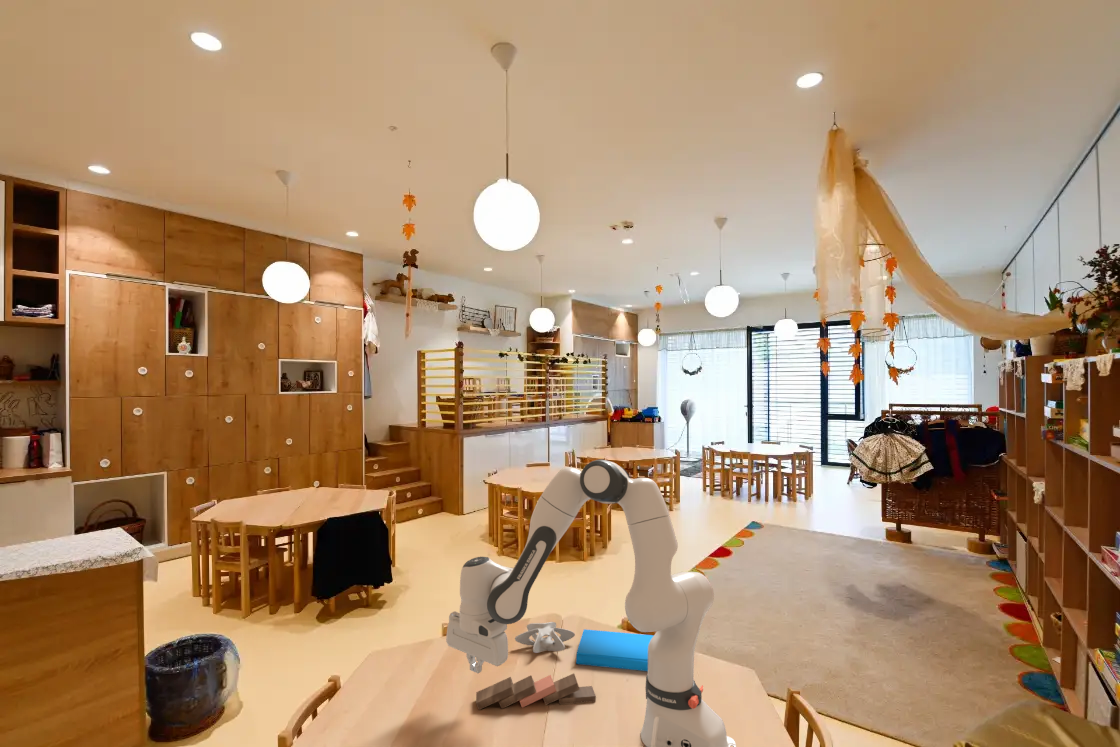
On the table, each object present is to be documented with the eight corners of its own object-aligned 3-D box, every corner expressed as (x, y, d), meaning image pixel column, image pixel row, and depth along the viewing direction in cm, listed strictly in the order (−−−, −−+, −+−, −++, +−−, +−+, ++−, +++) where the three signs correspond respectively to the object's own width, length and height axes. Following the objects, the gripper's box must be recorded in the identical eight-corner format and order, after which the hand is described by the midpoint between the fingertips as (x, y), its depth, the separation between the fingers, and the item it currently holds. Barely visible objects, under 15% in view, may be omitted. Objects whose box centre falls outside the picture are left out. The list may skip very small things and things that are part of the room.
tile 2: (500, 698, 149) (533, 681, 150) (501, 709, 144) (536, 691, 146) (497, 691, 149) (531, 675, 150) (498, 702, 144) (533, 685, 145)
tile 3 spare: (519, 697, 149) (552, 681, 151) (521, 707, 144) (556, 691, 147) (516, 690, 149) (550, 674, 151) (519, 700, 144) (554, 684, 146)
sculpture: (512, 636, 186) (512, 617, 186) (569, 632, 189) (569, 613, 189) (517, 662, 168) (517, 641, 168) (580, 657, 172) (580, 636, 172)
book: (583, 629, 183) (658, 634, 179) (583, 642, 183) (658, 647, 179) (575, 653, 167) (658, 660, 162) (576, 667, 166) (658, 674, 162)
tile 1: (478, 699, 148) (513, 683, 150) (478, 710, 143) (514, 693, 145) (476, 692, 148) (510, 676, 150) (476, 703, 143) (511, 686, 145)
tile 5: (556, 695, 151) (591, 693, 153) (559, 706, 146) (595, 703, 148) (556, 688, 151) (591, 685, 153) (559, 698, 146) (595, 696, 148)
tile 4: (543, 694, 151) (576, 679, 152) (545, 705, 146) (579, 689, 147) (540, 687, 150) (574, 673, 152) (543, 698, 146) (577, 682, 147)
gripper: (441, 613, 150) (440, 663, 149) (495, 633, 137) (495, 688, 137) (458, 605, 155) (457, 654, 154) (511, 625, 143) (511, 678, 142)
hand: (475, 671), depth 146 cm, fingers closed
